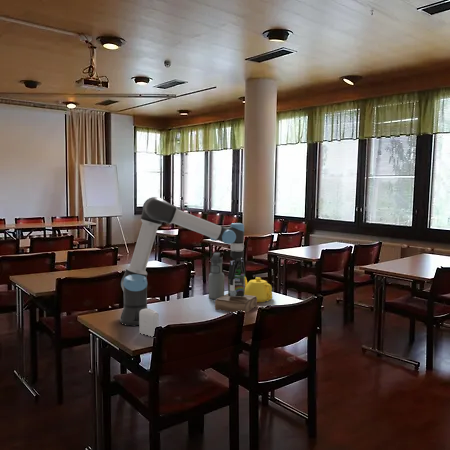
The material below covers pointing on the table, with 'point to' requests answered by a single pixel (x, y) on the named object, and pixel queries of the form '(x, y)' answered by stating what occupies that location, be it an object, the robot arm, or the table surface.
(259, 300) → the teapot
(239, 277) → the chalk box
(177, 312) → the table surface
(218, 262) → the water bottle
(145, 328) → the photo printer
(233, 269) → the robot arm
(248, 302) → the walnut stand
